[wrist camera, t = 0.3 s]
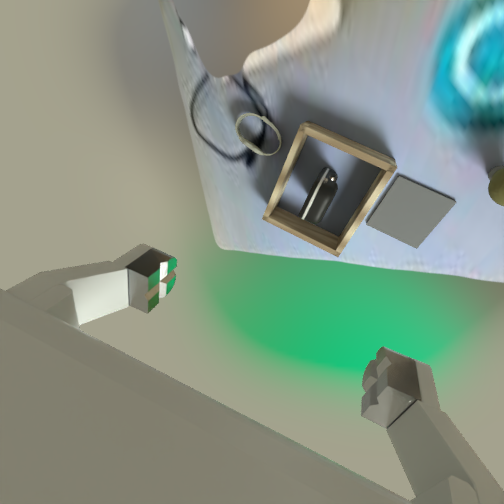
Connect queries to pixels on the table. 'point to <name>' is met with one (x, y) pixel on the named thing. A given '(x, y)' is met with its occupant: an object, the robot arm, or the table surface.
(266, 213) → the box
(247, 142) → the wristwatch
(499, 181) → the light bulb
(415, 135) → the table surface
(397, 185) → the pad
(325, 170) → the battery charger
